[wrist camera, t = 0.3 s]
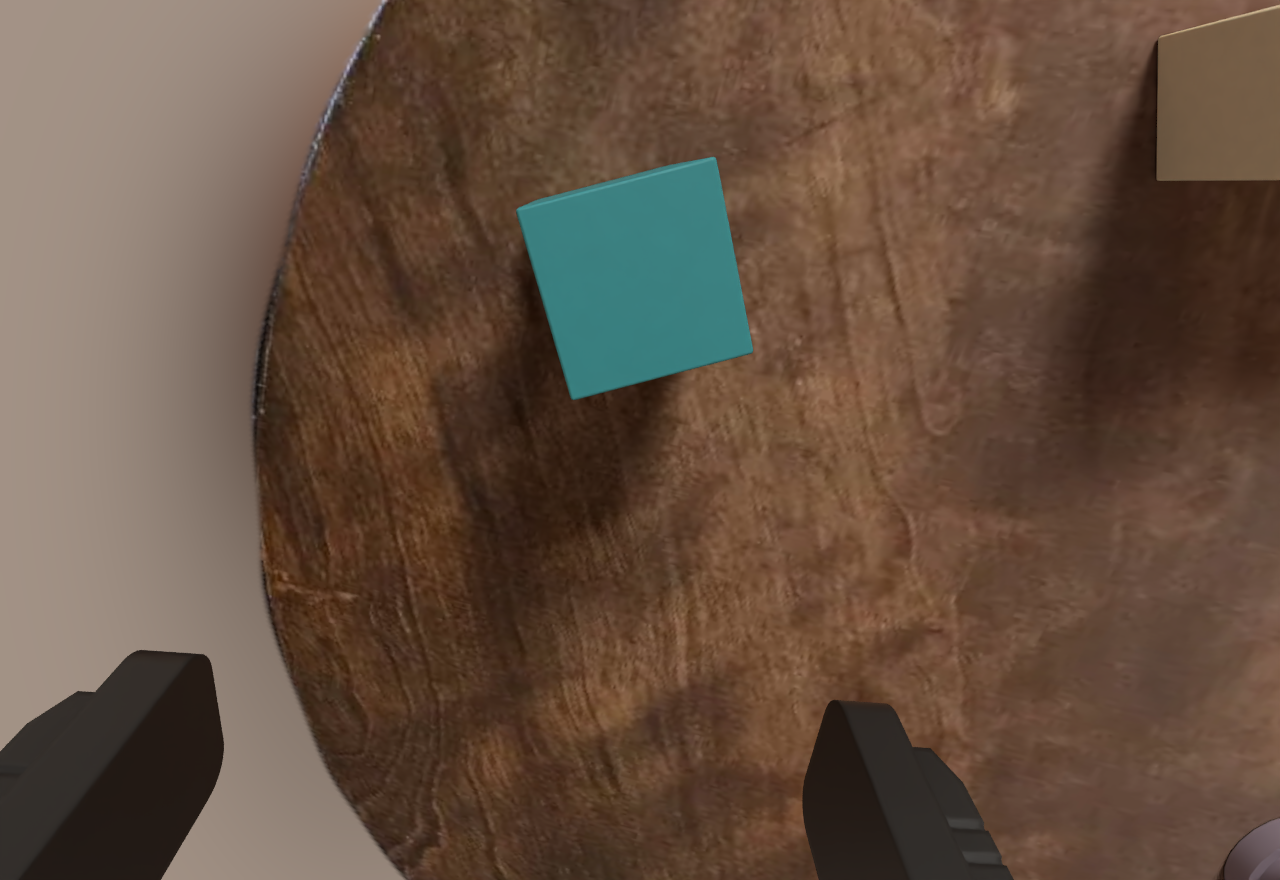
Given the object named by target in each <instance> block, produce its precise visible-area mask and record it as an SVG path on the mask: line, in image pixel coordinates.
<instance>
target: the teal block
mask: <svg viewBox="0 0 1280 880" xmlns="http://www.w3.org/2000/svg"><path fill="white" fill-rule="evenodd" d="M516 213H517V217H518V220H519V224H520V227H521V230H522V234H523V237H524V241H525V244H526V247H527V251H528V254H529V258H530V261H531V264H532V268H533V271H534V275H535V278H536V281H537V285H538V288H539V292H540V295H541V299H542V302H543V305H544V309H545V312H546V316H547V319H548V322H549V326H550V329H551V333H552V336H553V339H554V343H555V346H556V350H557V353H558V356H559V360H560V363H561V367H562V370H563V374H564V377H565V380H566V384H567V387H568V391H569V394H570V397H571V399H572V400H577V399H581V398H584V397H588V396H592V395H596V394H600V393H603V392H607V391H611V390H615V389H619V388H622V387H626V386H630V385H634V384H638V383H641V382H645V381H649V380H653V379H657V378H660V377H664V376H668V375H672V374H676V373H680V372H683V371H687V370H691V369H695V368H699V367H702V366H706V365H710V364H714V363H718V362H721V361H725V360H729V359H733V358H737V357H740V356H744V355H748V354H751V353H753V347H752V342H751V336H750V331H749V326H748V321H747V316H746V310H745V305H744V300H743V295H742V290H741V285H740V279H739V274H738V269H737V264H736V259H735V253H734V248H733V243H732V238H731V233H730V228H729V222H728V217H727V212H726V207H725V202H724V196H723V191H722V186H721V181H720V176H719V171H718V165H717V160H716V158H715V157H710V158H705V159H700V160H694V161H689V162H684V163H678V164H673V165H668V166H664V167H660V168H656V169H652V170H649V171H645V172H641V173H637V174H633V175H630V176H626V177H622V178H618V179H614V180H611V181H607V182H603V183H599V184H595V185H592V186H588V187H584V188H580V189H576V190H573V191H569V192H565V193H561V194H557V195H553V196H550V197H546V198H542V199H538V200H535V201H533V202H531V203H529V204H526V205H524V206H522V207H520V208H518V209H517V210H516Z"/></svg>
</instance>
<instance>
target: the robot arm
mask: <svg viewBox="0 0 1280 880" xmlns="http://www.w3.org/2000/svg"><path fill="white" fill-rule="evenodd" d="M223 752H224V741H223V734H222V727H221V721H220V715H219V709H218V703H217V697H216V690H215V684H214V677H213V671H212V666H211V662H210V660H209V659H208V657H207V656H205V655H203V654H191V653H176V652H162V651H147V650H139V651H136V652H134V653H132V654H130V655H129V656H128V657H127V658H125V659H124V661H123V662H122V663H121V664H120V665H119V666H118V667H117V668H116V669H115V670H114V672H113V673H112V674H111V675H110V676H109V677H108V678H107V679H106V681H105V682H104V683H103V684H102V685H101V686H100V687H99V688H98V689H97V691H96V692H82V691H77V692H76V693H74V694H73V695H71V696H69V697H68V698H67V699H65V700H63V701H62V702H60V703H59V704H57V705H55V706H54V707H52V708H51V709H49V710H48V711H46V712H45V713H43V714H41V715H40V716H39V717H37V718H35V719H34V720H32V721H31V722H29V723H27V724H26V725H25V726H24V727H23V728H22V730H21V731H19V733H18V734H17V735H16V736H15V737H14V738H13V739H12V740H11V741H10V742H9V743H8V744H7V745H6V746H5V747H4V748H3V749H2V750H1V751H0V880H161V879H162V877H163V875H164V873H165V872H166V870H167V868H168V867H169V865H170V863H171V862H172V860H173V858H174V856H175V855H176V853H177V851H178V850H179V848H180V846H181V845H182V843H183V841H184V840H185V838H186V836H187V835H188V833H189V831H190V829H191V827H192V826H193V824H194V823H195V821H196V819H197V818H198V816H199V814H200V813H201V811H202V809H203V807H204V806H205V804H206V802H207V801H208V799H209V797H210V795H211V793H212V791H213V789H214V787H215V785H216V782H217V779H218V776H219V773H220V769H221V765H222V760H223ZM803 817H804V824H805V829H806V833H807V837H808V841H809V845H810V848H811V852H812V856H813V859H814V863H815V867H816V871H817V874H818V878H819V880H1014V879H1013V877H1012V876H1011V874H1010V872H1009V870H1008V868H1007V866H1004V865H1003V864H1002V861H1001V857H1002V856H1001V854H1000V853H999V851H998V849H997V847H996V845H995V843H994V841H993V839H992V837H991V835H990V833H989V831H985V830H984V822H983V820H982V818H981V816H980V814H979V812H978V810H977V809H976V807H975V805H974V803H973V801H972V799H971V797H970V795H969V793H968V791H967V789H966V787H965V786H964V784H963V782H962V781H961V780H960V779H959V778H958V777H957V776H956V775H955V774H954V773H953V772H952V771H951V770H950V769H949V767H948V766H947V765H946V764H945V763H944V762H943V761H942V760H941V759H940V758H939V757H938V756H937V755H936V754H935V753H934V752H933V751H932V749H931V748H918V747H912V745H911V743H910V741H909V739H908V736H907V734H906V732H905V730H904V728H903V726H902V724H901V722H900V719H899V717H898V715H897V714H896V712H895V710H894V709H893V708H892V707H891V706H890V705H888V704H884V703H870V702H855V701H841V700H832V701H831V702H830V703H829V704H828V706H827V708H826V710H825V713H824V716H823V720H822V723H821V726H820V730H819V733H818V736H817V740H816V743H815V746H814V750H813V753H812V756H811V759H810V763H809V766H808V769H807V773H806V776H805V780H804V786H803Z"/></svg>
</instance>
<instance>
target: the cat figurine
mask: <svg viewBox="0 0 1280 880" xmlns="http://www.w3.org/2000/svg"><path fill="white" fill-rule="evenodd" d="M1224 879H1225V880H1280V818H1279V819H1276V820H1272V821H1270V822H1268V823H1266V824H1264V825H1262V826H1260V827H1258V828H1256V829H1254V830H1253V831H1252V832H1251V833H1249V834H1248V835H1247V836H1246V837H1244V838H1243V839H1242V840H1241V841H1240V842H1239V843H1238V844H1237V845H1236V847H1235V848H1234V849H1233V850H1232V852H1231V853H1230V855H1229V857H1228V859H1227V862H1226V864H1225V867H1224Z"/></svg>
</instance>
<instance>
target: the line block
mask: <svg viewBox="0 0 1280 880" xmlns="http://www.w3.org/2000/svg"><path fill="white" fill-rule="evenodd" d="M1156 179H1157V180H1158V181H1215V180H1280V5H1277V6H1274V7H1270V8H1266V9H1262V10H1258V11H1254V12H1251V13H1247V14H1243V15H1239V16H1235V17H1232V18H1228V19H1224V20H1220V21H1216V22H1213V23H1209V24H1205V25H1201V26H1197V27H1194V28H1190V29H1186V30H1182V31H1178V32H1175V33H1171V34H1167V35H1163V36H1160V37H1159V38H1158V90H1157V174H1156Z"/></svg>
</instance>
